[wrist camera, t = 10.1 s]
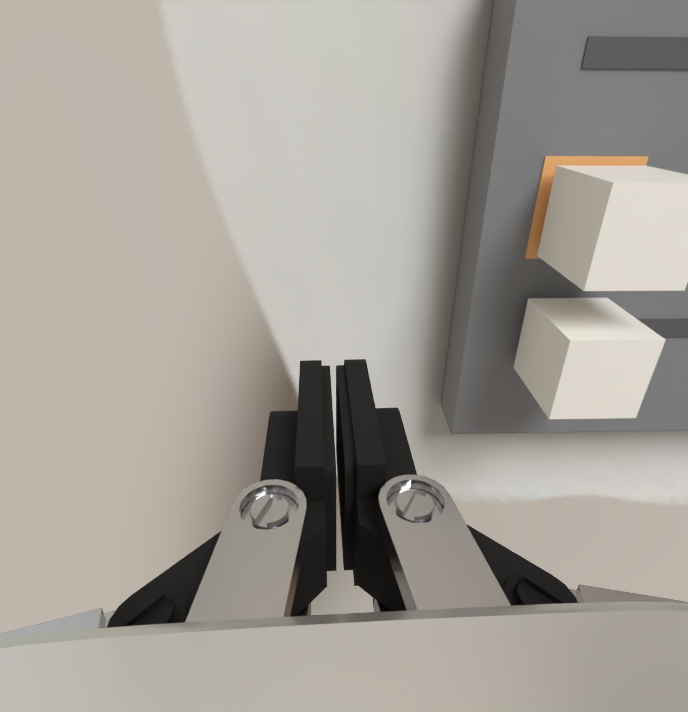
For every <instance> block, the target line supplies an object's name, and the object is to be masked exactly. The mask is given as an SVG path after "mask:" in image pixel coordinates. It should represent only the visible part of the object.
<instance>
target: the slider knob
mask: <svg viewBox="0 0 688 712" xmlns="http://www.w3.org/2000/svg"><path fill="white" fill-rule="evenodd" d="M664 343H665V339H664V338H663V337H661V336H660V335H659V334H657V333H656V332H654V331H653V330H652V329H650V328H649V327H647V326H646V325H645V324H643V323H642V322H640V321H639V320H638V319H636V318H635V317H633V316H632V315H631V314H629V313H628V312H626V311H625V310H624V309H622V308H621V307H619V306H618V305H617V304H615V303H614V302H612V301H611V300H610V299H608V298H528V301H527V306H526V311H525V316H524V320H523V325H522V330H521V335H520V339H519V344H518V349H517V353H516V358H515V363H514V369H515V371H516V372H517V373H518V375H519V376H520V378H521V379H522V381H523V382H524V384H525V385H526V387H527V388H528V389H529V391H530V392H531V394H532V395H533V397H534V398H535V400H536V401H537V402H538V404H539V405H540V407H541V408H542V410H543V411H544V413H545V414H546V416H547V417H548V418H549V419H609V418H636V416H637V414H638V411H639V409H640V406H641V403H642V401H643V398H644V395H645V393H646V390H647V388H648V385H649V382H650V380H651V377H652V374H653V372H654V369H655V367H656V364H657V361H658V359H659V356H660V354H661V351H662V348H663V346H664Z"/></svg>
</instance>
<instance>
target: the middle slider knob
mask: <svg viewBox="0 0 688 712" xmlns="http://www.w3.org/2000/svg"><path fill="white" fill-rule="evenodd" d="M537 256H538V257H539V258H541V259H542V260H543V261H545V262H546V263H547V264H549V265H550V266H551V267H553V268H554V269H555V270H557V271H558V272H559V273H561V274H562V275H563V276H564V277H566V278H567V279H568V280H570V281H571V282H572V283H574V284H575V285H576V286H578V287H579V288H580V289H582V290H583V291H685V288H686V285H687V283H688V174H683V173H678V172H674V171H669V170H665V169H660V168H655V167H651V166H586V165H556V169H555V174H554V178H553V183H552V188H551V193H550V197H549V202H548V207H547V211H546V216H545V221H544V226H543V230H542V235H541V240H540V245H539V249H538V254H537Z"/></svg>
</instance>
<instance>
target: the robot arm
mask: <svg viewBox="0 0 688 712" xmlns="http://www.w3.org/2000/svg"><path fill="white" fill-rule="evenodd" d="M336 452H337V471H338V487H339V502H340V518H341V533H342V549H343V564H344V570H353V574H354V585H355V586H360V587H361V588H362V589H363V590H365V591H366V592H367V593H368V594H370V595H371V596H372V597H373V608H374V612H370V613H350V614H332V615H312V616H311V601H312V600H313V599H315V597H317V596H318V595H319V593H321V592H322V590H324V589H325V588H326V587H327V571H336V460H335V443H334V427H333V410H332V394H331V378H330V366H321V360H318V361H300V378H299V397H298V411H271V412H270V416H269V423H268V430H267V437H266V444H265V451H264V459H263V466H262V473H261V480H260V482H256V483H254V484H252V485H250V486H248V487H246V488H245V489H244V490H243V491H242V492H240V493H239V494H238V495H237V497H236V498H235V500H234V502H233V504H232V506H231V509H230V511H229V514H228V516H227V519H226V521H225V524H224V526H223V529H222V531H221V532H219V533H218V534H216V535H215V536H214V537H212V538H211V539H209V540H208V541H207V542H205V543H204V544H202V545H201V546H200V547H198V548H197V549H195V550H194V551H193V552H191V553H190V554H188V555H187V556H186V557H184V558H183V559H181V560H180V561H179V562H177V563H176V564H174V565H173V566H172V567H170V568H169V569H167V570H166V571H165V572H163V573H162V574H161V575H159V576H158V577H156V578H155V579H153V580H152V581H151V582H149V583H148V584H147V585H145V586H144V587H142V588H141V589H140V590H138V591H137V592H135V593H134V594H133V595H131V596H130V597H129V598H128V599H127V600H125V601H124V602H123V603H122V604H121V605H120V606H119V607H118V608H117V610H116V611H113V612H109V613H106V614H104V613H103V610H102V608H99V609H96V610H92V611H88V612H84V613H80V614H76V615H72V616H68V617H64V618H60V619H57V620H53V621H49V622H45V623H41V624H37V625H33V626H29V627H25V628H21V629H17V630H13V631H9V632H5V633H2V634H0V712H688V602H684V601H679V600H673V599H666V598H660V597H654V596H648V595H641V594H635V593H629V592H623V591H617V590H611V589H605V588H598V587H592V586H586V585H580V584H579V585H578V588H577V590H572V589H568V588H567V586H566V585H565V584H564V583H562V582H561V581H560V580H558V579H557V578H555V577H554V576H552V575H551V574H549V573H548V572H546V571H544V570H543V569H541V568H539V567H538V566H536V565H534V564H532V563H531V562H529V561H527V560H526V559H524V558H522V557H521V556H519V555H517V554H516V553H514V552H512V551H511V550H509V549H507V548H505V547H504V546H502V545H500V544H499V543H497V542H495V541H494V540H492V539H490V538H489V537H487V536H485V535H484V534H482V533H480V532H478V531H477V530H475V529H473V528H472V527H470V526H468V525H466V523H465V521H464V520H463V518H462V516H461V514H460V512H459V510H458V509H457V507H456V505H455V503H454V501H453V499H452V498H451V496H450V494H449V493H448V492H447V490H446V489H445V488H444V487H443V486H442V485H440V484H439V483H438V482H436V481H435V480H432V479H430V478H428V477H425V476H420V475H417V473H416V470H415V466H414V462H413V459H412V455H411V451H410V448H409V444H408V441H407V437H406V433H405V430H404V426H403V423H402V419H401V415H400V412H399V409H398V408H375V404H374V399H373V394H372V389H371V384H370V379H369V374H368V369H367V364H366V360H365V359H362V360H344V365H339V366H336Z"/></svg>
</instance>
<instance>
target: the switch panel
mask: <svg viewBox="0 0 688 712" xmlns="http://www.w3.org/2000/svg"><path fill="white" fill-rule="evenodd" d="M556 165H586V166H651V167H655V168H660V169H665V170H669V171H674V172H678V173H683V174H688V0H493V6H492V14H491V22H490V29H489V37H488V45H487V52H486V60H485V68H484V76H483V83H482V91H481V99H480V106H479V114H478V122H477V130H476V137H475V145H474V153H473V161H472V168H471V176H470V184H469V191H468V199H467V207H466V215H465V222H464V230H463V238H462V245H461V253H460V261H459V269H458V276H457V284H456V292H455V299H454V307H453V315H452V323H451V330H450V338H449V346H448V353H447V361H446V369H445V377H444V384H443V392H442V400H441V406H442V409H443V411H444V414H445V417H446V419H447V422H448V425H449V427H450V430H451V433H452V434H467V433H534V432H601V431H668V430H688V283H687V285H686V288H685V291H583V290H582V289H580V288H579V287H578V286H576V285H575V284H574V283H572V282H571V281H570V280H568V279H567V278H566V277H564V276H563V275H562V274H561V273H559V272H558V271H557V270H555V269H554V268H553V267H551V266H550V265H549V264H547V263H546V262H545V261H543V260H542V259H541V258H539V257H538V256H537V254H538V249H539V245H540V240H541V235H542V230H543V226H544V221H545V216H546V211H547V207H548V202H549V197H550V193H551V188H552V183H553V178H554V174H555V169H556ZM528 298H608V299H610V300H611V301H612V302H614V303H615V304H617V305H618V306H619V307H621V308H622V309H624V310H625V311H626V312H628V313H629V314H631V315H632V316H633V317H635V318H636V319H638V320H639V321H640V322H642V323H643V324H645V325H646V326H647V327H649V328H650V329H652V330H653V331H654V332H656V333H657V334H659V335H660V336H661V337H663V338H664V339H665V343H664V346H663V348H662V351H661V354H660V356H659V359H658V361H657V364H656V367H655V369H654V372H653V374H652V377H651V380H650V382H649V385H648V388H647V390H646V393H645V395H644V398H643V401H642V403H641V406H640V409H639V411H638V414H637V416H636V418H609V419H549V418H548V417H547V416H546V414H545V413H544V411H543V410H542V408H541V407H540V405H539V404H538V402H537V401H536V400H535V398H534V397H533V395H532V394H531V392H530V391H529V389H528V388H527V387H526V385H525V384H524V382H523V381H522V379H521V378H520V376H519V375H518V373H517V372H516V371H515V369H514V363H515V358H516V353H517V349H518V344H519V339H520V335H521V330H522V325H523V320H524V316H525V311H526V306H527V301H528Z"/></svg>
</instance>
